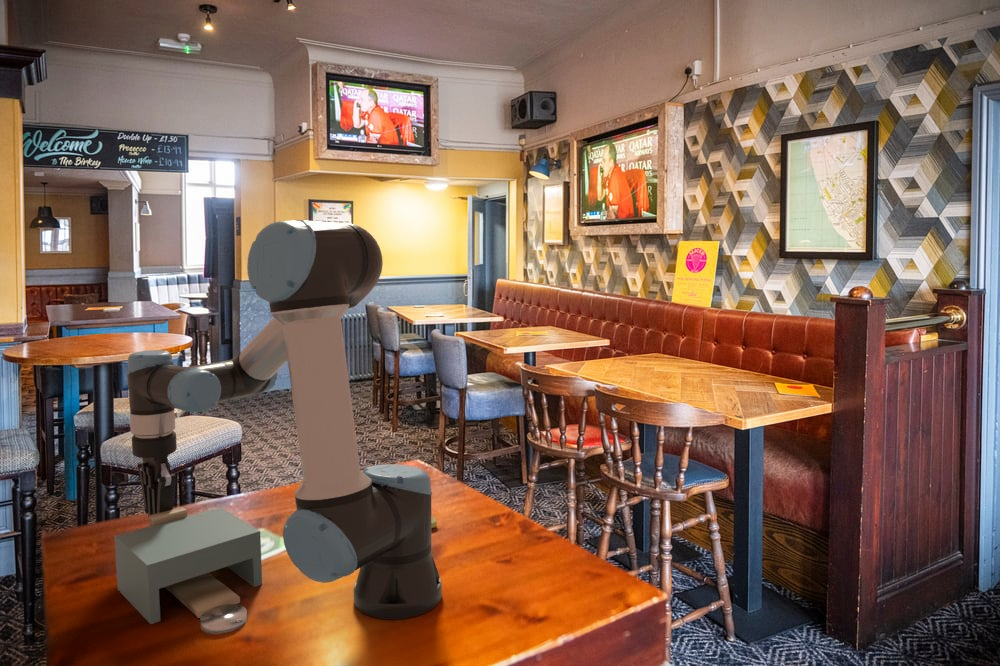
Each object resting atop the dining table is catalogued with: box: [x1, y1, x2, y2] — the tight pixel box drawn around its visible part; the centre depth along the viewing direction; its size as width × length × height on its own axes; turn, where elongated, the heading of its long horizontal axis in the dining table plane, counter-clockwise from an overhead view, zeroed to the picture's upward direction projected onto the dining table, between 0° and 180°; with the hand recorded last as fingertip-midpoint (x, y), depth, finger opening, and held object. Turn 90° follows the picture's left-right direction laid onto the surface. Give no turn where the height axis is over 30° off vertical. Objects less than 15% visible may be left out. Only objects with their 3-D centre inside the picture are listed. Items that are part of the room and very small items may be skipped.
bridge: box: [113, 507, 263, 625], centre depth 123 cm, size 16×19×10 cm
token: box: [199, 604, 248, 635], centre depth 113 cm, size 7×7×2 cm
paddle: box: [148, 506, 241, 619], centre depth 123 cm, size 22×7×11 cm, turn 46°
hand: (160, 552), depth 134 cm, fingers closed
